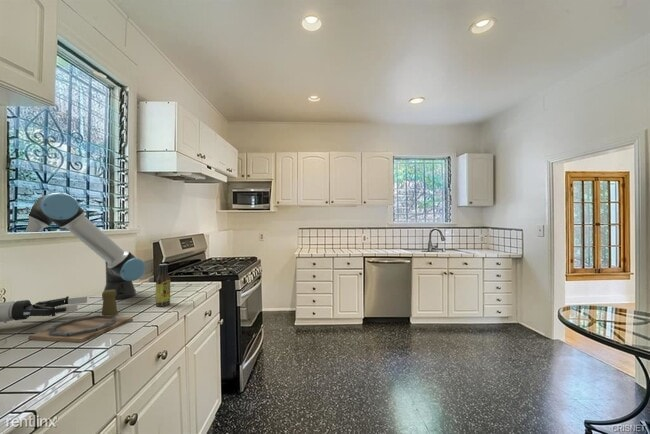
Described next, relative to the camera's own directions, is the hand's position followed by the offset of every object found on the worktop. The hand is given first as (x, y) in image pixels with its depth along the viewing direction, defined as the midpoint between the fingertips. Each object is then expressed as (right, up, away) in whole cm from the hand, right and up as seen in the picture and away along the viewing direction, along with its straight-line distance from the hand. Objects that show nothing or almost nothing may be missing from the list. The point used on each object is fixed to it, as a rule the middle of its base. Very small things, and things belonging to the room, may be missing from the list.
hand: (82, 303), depth 127 cm
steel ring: (+11, -5, -12) cm, 17 cm away
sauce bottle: (+25, -6, +18) cm, 31 cm away
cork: (+9, -7, +4) cm, 12 cm away
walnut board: (+11, -6, -12) cm, 18 cm away
